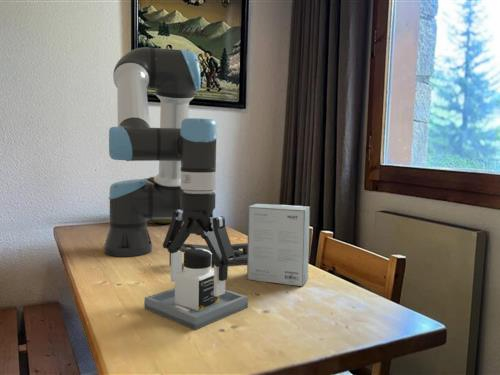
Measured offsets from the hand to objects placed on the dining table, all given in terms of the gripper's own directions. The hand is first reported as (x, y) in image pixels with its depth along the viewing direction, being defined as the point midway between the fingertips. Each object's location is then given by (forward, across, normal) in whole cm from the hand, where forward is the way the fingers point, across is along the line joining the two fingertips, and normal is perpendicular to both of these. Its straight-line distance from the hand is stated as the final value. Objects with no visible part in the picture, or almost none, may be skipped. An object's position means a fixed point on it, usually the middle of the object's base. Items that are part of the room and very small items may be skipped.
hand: (196, 287), depth 97 cm
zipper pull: (+5, -21, +29) cm, 36 cm away
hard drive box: (+5, +1, +29) cm, 29 cm away
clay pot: (+5, -81, +58) cm, 100 cm away
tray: (+5, 0, 0) cm, 5 cm away
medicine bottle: (+4, 0, 0) cm, 4 cm away
